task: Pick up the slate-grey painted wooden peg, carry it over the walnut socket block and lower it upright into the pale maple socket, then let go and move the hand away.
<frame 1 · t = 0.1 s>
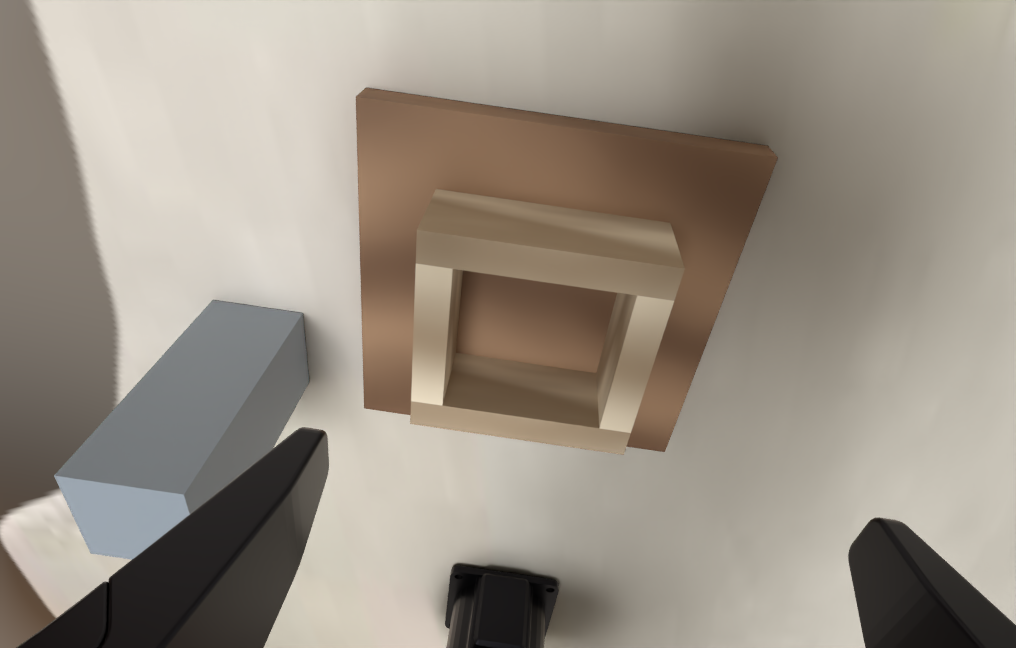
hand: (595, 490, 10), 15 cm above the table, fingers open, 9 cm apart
socket block: (537, 288, 25), on the table
peg: (263, 342, 28), on the table
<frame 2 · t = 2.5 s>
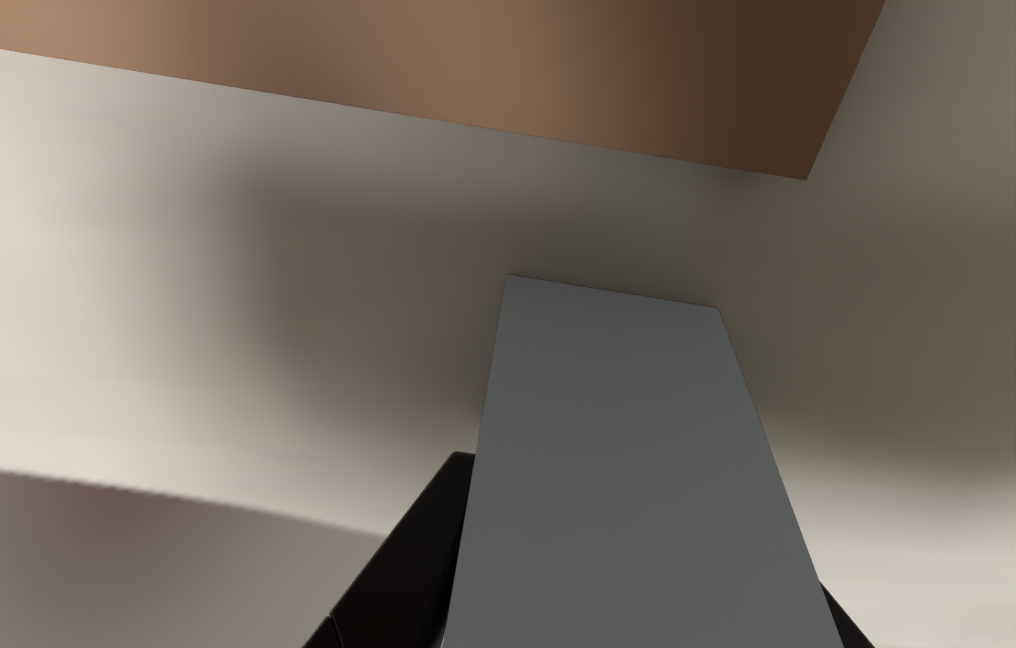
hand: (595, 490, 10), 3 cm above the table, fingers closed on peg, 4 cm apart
peg: (589, 372, 12), on the table, touching gripper
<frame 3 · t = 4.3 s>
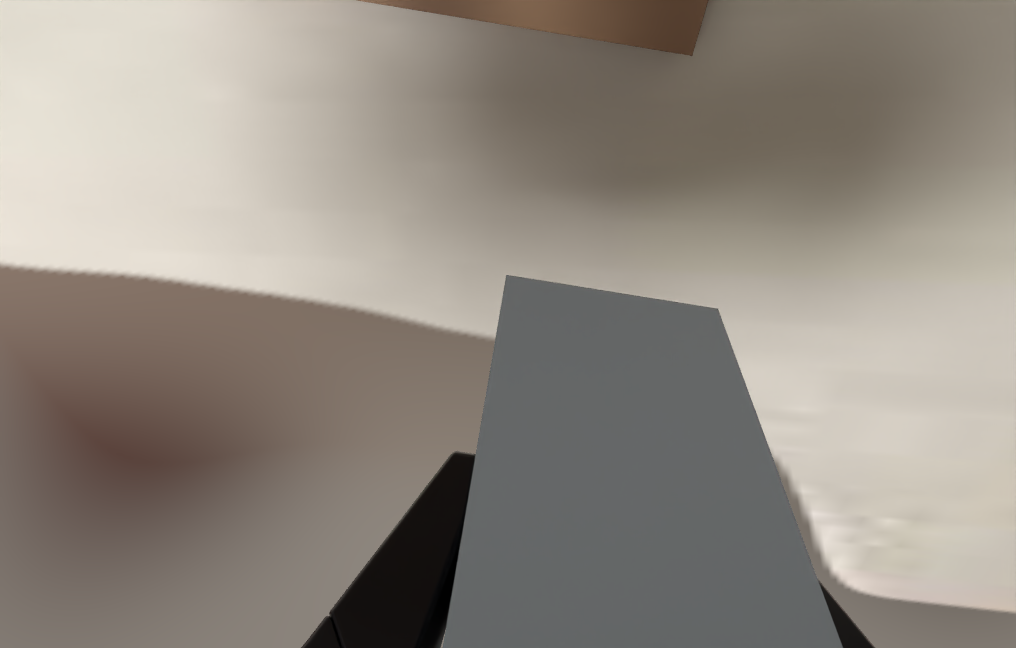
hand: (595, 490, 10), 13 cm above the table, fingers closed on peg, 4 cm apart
peg: (589, 373, 12), point 10 cm above the table, touching gripper
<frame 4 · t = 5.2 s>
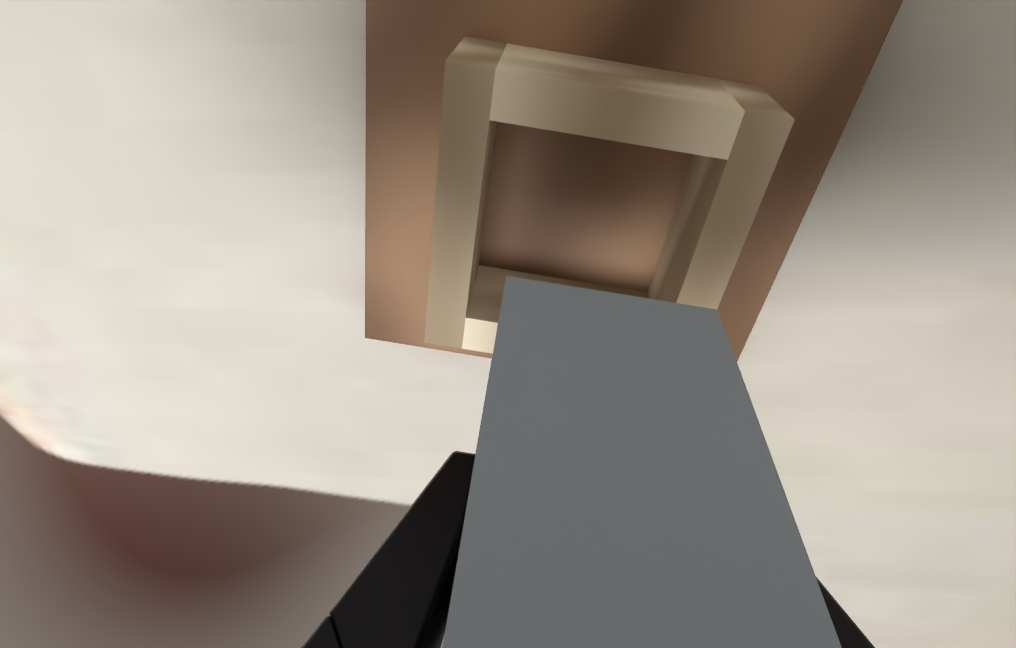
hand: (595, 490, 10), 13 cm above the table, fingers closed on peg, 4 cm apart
socket block: (580, 185, 20), on the table
peg: (589, 374, 12), point 10 cm above the table, touching gripper
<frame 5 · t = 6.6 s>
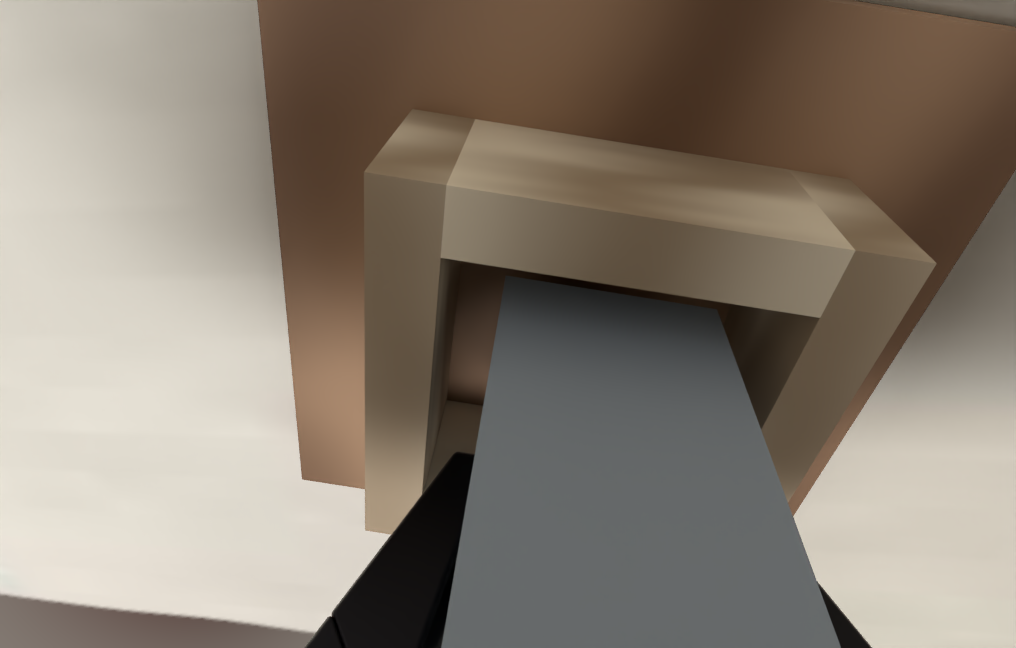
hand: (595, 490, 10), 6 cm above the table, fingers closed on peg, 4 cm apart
socket block: (584, 296, 15), on the table
peg: (588, 373, 12), point 3 cm above the table, touching gripper
when the fingers open (6 cm above the table, at t = 6.7 s): peg drops 2 cm, resting on socket block.
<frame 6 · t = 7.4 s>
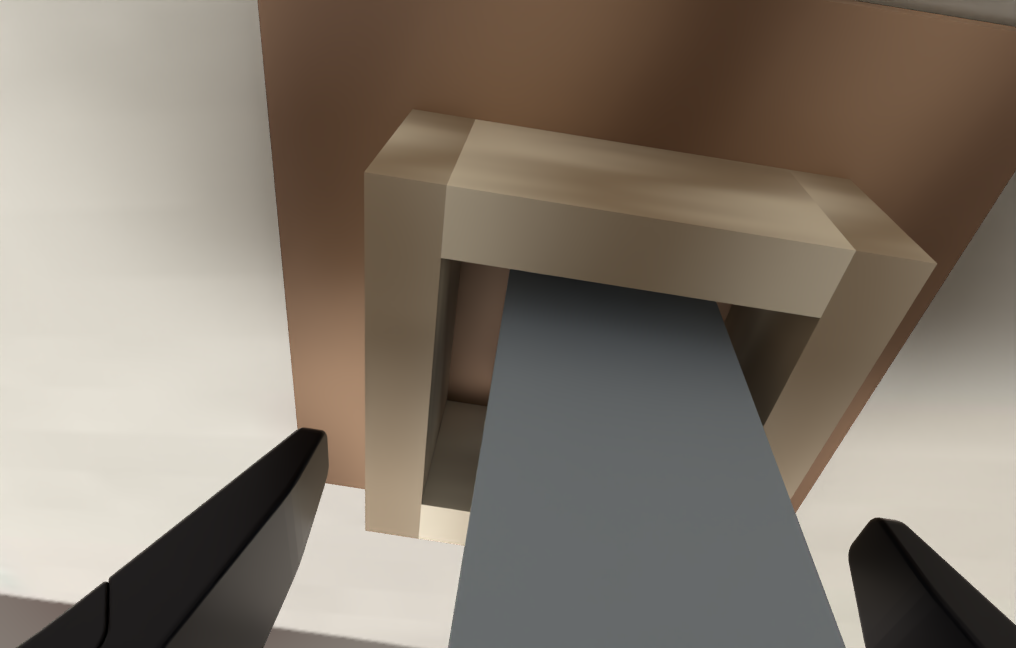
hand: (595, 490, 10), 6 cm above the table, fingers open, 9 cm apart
socket block: (585, 296, 15), on the table
peg: (588, 326, 14), point 1 cm above the table, touching socket block
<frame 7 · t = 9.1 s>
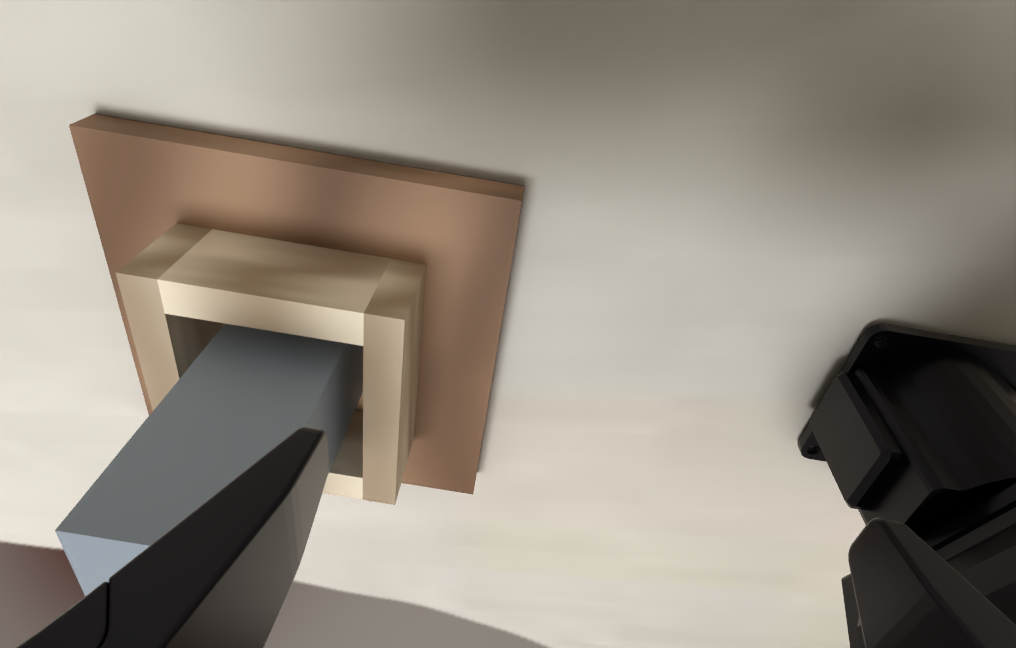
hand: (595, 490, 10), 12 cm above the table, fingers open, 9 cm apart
socket block: (318, 325, 24), on the table
peg: (309, 344, 23), point 1 cm above the table, touching socket block
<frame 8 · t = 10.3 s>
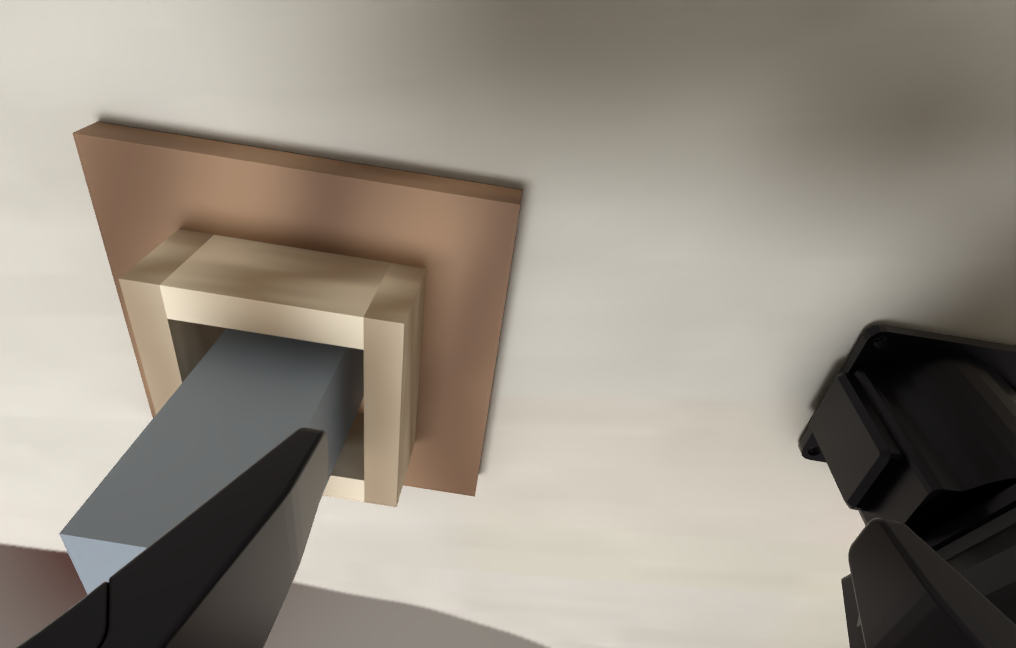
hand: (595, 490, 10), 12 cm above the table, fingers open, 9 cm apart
socket block: (320, 328, 24), on the table
peg: (311, 348, 23), point 1 cm above the table, touching socket block
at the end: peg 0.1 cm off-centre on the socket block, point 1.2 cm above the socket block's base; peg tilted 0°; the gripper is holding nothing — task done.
